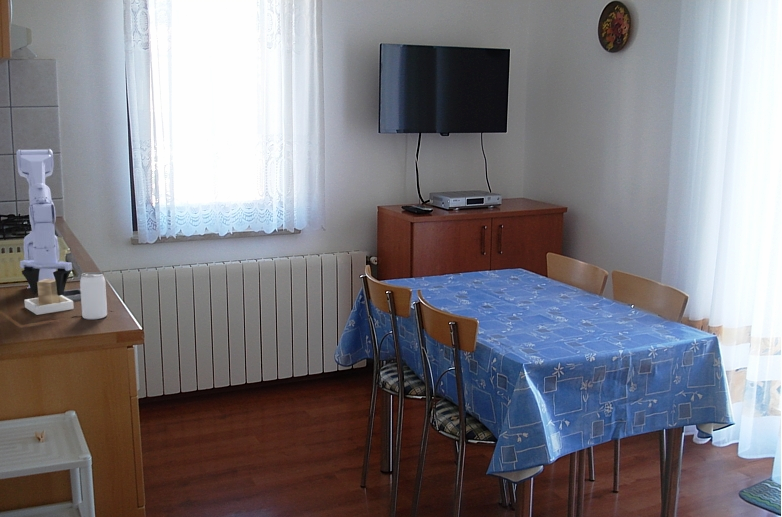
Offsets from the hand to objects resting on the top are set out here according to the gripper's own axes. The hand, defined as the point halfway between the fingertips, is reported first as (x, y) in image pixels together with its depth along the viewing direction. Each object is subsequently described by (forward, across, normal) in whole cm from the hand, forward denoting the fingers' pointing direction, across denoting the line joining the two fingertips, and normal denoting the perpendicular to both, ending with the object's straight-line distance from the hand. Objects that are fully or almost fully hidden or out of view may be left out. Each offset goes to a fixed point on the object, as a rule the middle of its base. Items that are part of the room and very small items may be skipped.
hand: (48, 294), depth 224 cm
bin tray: (+5, 0, 0) cm, 5 cm away
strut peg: (+4, 0, 0) cm, 4 cm away
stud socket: (+5, 0, +12) cm, 13 cm away
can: (+5, +16, -3) cm, 17 cm away
